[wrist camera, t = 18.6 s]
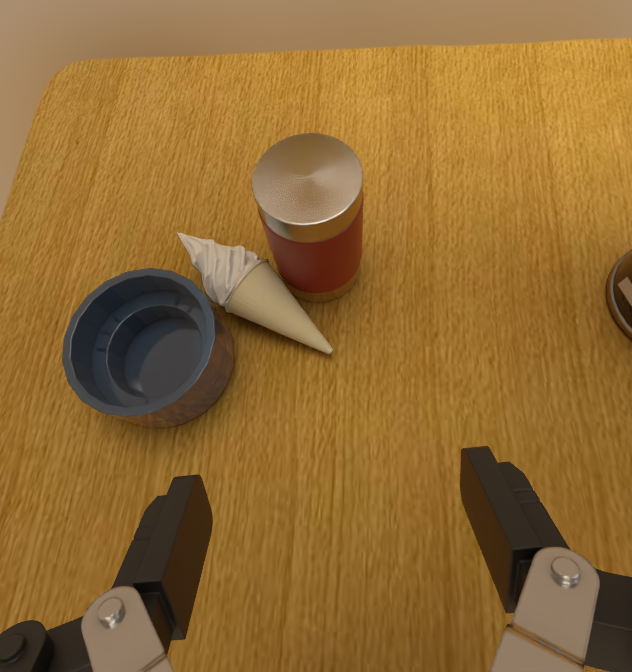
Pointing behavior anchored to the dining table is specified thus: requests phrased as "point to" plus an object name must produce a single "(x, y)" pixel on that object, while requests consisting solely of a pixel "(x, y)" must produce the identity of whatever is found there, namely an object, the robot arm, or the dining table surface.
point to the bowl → (148, 349)
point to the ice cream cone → (251, 290)
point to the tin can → (312, 213)
